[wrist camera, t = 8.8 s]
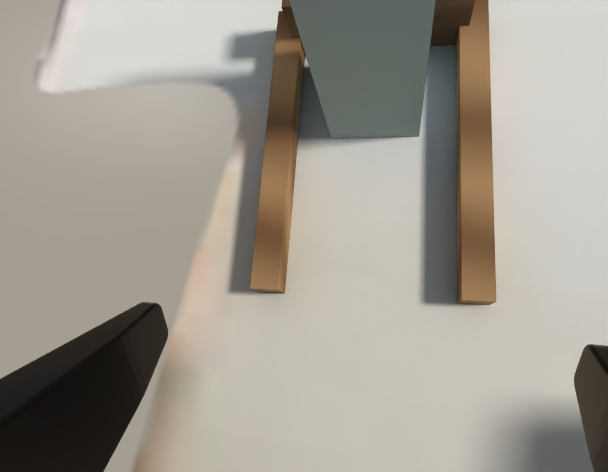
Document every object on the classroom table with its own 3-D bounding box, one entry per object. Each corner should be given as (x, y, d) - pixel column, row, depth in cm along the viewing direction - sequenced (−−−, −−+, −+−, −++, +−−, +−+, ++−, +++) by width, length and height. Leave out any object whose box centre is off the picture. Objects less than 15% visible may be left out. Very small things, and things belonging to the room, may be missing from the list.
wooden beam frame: (489, 304, 21) (509, 296, 18) (258, 291, 24) (232, 281, 20) (482, 12, 25) (498, -46, 21) (284, 28, 28) (267, -22, 24)
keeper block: (419, 137, 24) (444, -63, 12) (330, 138, 25) (273, -43, 13) (420, 57, 25) (444, -195, 14) (335, 62, 26) (287, -167, 15)
